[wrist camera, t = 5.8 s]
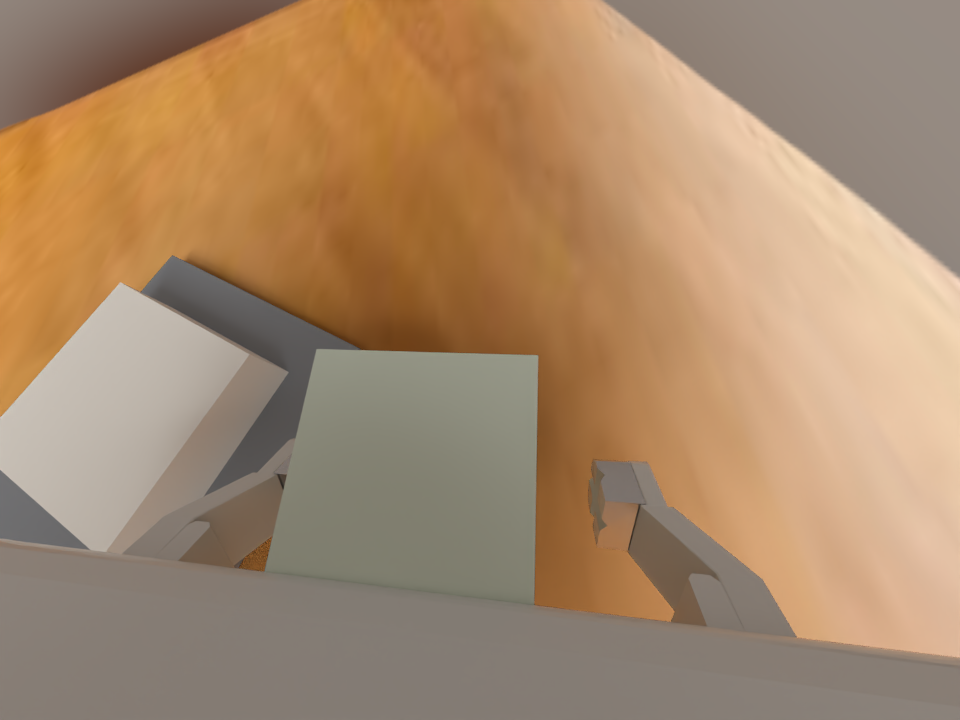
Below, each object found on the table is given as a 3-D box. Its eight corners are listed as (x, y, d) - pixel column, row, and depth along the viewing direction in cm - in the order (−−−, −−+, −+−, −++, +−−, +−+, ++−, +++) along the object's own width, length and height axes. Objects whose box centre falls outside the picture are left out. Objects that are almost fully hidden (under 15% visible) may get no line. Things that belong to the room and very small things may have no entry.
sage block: (523, 531, 17) (533, 643, 6) (425, 522, 18) (256, 605, 6) (526, 429, 18) (538, 355, 7) (436, 424, 19) (316, 349, 8)
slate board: (111, 769, 16) (-41, 878, 11) (-64, 573, 19) (-226, 601, 15) (370, 357, 21) (332, 326, 17) (192, 267, 25) (124, 224, 20)
